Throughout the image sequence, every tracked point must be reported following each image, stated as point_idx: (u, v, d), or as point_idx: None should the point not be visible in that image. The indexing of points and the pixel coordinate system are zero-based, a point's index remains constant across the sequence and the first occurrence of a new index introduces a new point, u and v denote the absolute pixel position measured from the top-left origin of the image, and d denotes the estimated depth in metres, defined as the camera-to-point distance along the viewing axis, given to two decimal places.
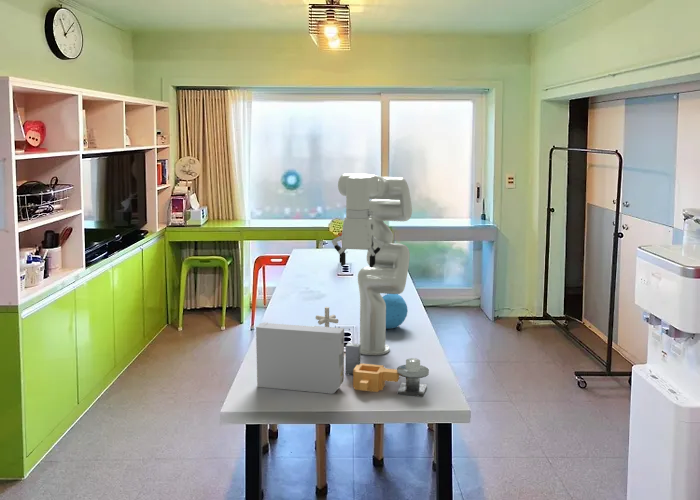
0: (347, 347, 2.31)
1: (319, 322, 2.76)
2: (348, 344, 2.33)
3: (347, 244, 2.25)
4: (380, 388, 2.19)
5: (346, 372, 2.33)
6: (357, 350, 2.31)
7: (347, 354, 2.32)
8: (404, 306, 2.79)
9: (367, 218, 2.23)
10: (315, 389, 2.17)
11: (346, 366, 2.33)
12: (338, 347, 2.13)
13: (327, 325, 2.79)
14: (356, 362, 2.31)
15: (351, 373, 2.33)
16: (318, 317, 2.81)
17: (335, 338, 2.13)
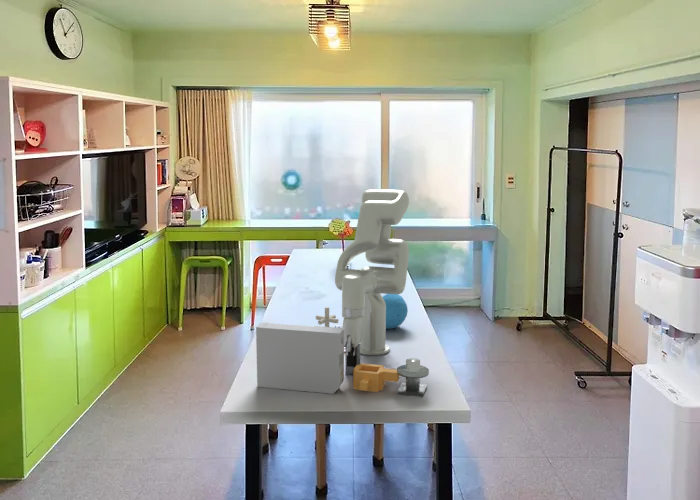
0: None
1: (319, 322, 2.76)
2: None
3: (357, 342, 2.29)
4: (380, 388, 2.19)
5: (346, 372, 2.33)
6: (357, 350, 2.31)
7: None
8: (404, 306, 2.79)
9: None
10: (315, 389, 2.17)
11: (346, 366, 2.33)
12: (338, 347, 2.13)
13: (327, 325, 2.79)
14: (356, 362, 2.31)
15: (351, 373, 2.33)
16: (318, 317, 2.81)
17: (335, 338, 2.13)
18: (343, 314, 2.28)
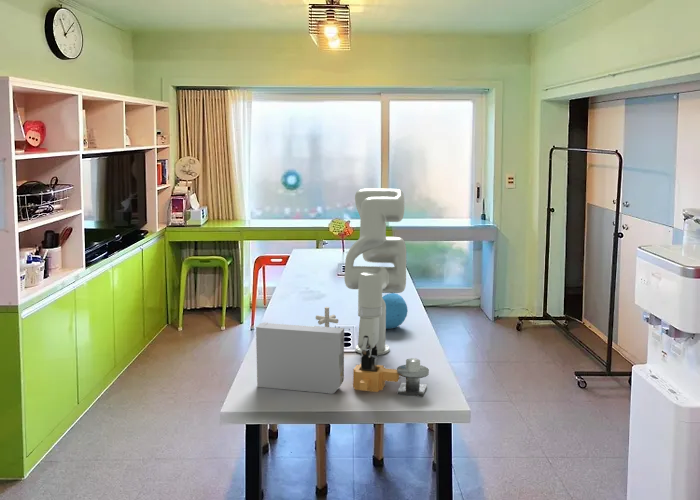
0: None
1: (319, 322, 2.76)
2: None
3: (374, 343, 2.17)
4: (380, 388, 2.19)
5: None
6: (373, 362, 2.19)
7: None
8: (404, 306, 2.79)
9: None
10: (315, 389, 2.17)
11: None
12: (338, 347, 2.13)
13: (327, 325, 2.79)
14: None
15: None
16: (318, 317, 2.81)
17: (335, 338, 2.13)
18: (359, 313, 2.16)
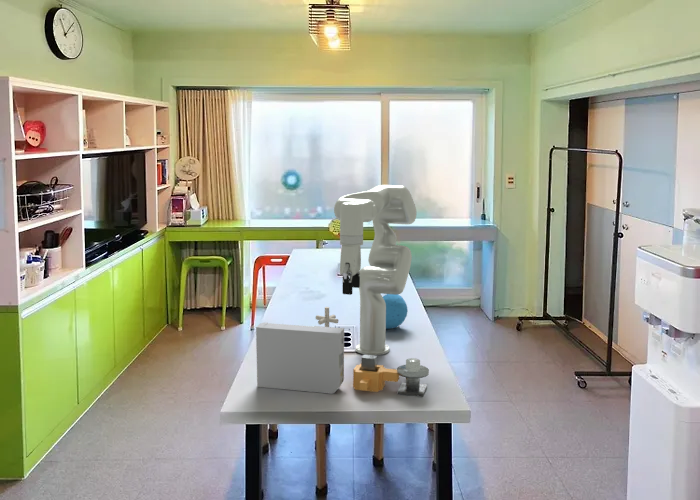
0: (363, 359, 2.20)
1: (319, 322, 2.76)
2: (364, 356, 2.21)
3: (355, 270, 2.26)
4: (380, 388, 2.19)
5: None
6: (373, 362, 2.19)
7: (363, 366, 2.20)
8: (404, 306, 2.79)
9: None
10: (315, 389, 2.17)
11: None
12: (338, 347, 2.13)
13: (327, 325, 2.79)
14: None
15: None
16: (318, 317, 2.81)
17: (335, 338, 2.13)
18: (341, 242, 2.25)
